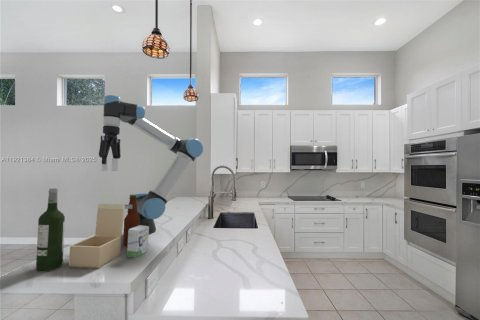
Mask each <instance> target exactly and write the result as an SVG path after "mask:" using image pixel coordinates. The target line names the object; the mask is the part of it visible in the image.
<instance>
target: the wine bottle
mask: <svg viewBox="0 0 480 320" xmlns="http://www.w3.org/2000/svg"><path fill="white" fill-rule="evenodd" d="M58 192H59V190H58V188H49V189H48V199H47V208H46V210H45V211H44V212H43V213H41V215H40V216H39V217H38V220H37V223H38V224H37V225H38V226H37V241H36V258H35V259H36V260H35V270H37V271H36V272H39V271H46V272H51V271H55V270H56V269H60V268H61V267H62V266H63V263H64V245H65V244H64V242H65V220H66V219H65V214H64V213H63V212H61V211H60V210H59V209H58Z"/></svg>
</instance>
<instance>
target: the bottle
mask: <svg viewBox="0 0 480 320" xmlns="http://www.w3.org/2000/svg"><path fill="white" fill-rule="evenodd" d="M136 196H137V195H135V194H129V198H128V199H129V202H128V205H133V207H132V209H127V214H126V216H124V218H123V233H122V240H123V241H122V245H123V247H124V248H127V247H128V230H129V229H131V228H134V227H136V226H139V225H140V217H139V216H138V214H137V203H136V199H137V198H136Z"/></svg>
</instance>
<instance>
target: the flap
mask: <svg viewBox="0 0 480 320" xmlns="http://www.w3.org/2000/svg"><path fill="white" fill-rule="evenodd" d="M132 207H133V205H129V204H123V203H122V204H120V203H119V204H117V203H98V204H97V213H96V222H95V223H96V225H95V231H94V232H95V233H94V236H118V237H121V238H122V237H123V230H124V218H125V216H124V215H125V210H128V209H132Z"/></svg>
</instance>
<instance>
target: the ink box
mask: <svg viewBox="0 0 480 320" xmlns="http://www.w3.org/2000/svg"><path fill="white" fill-rule="evenodd" d="M149 235H150V234H149V226H143V225H139V226H136V227H134V228H131V229H129V230H128V247H126V249H127V250H126V257H127V258H136V259H137V258H138V257H140V256H141V255H143V254H145V253H146V252H148V251H149Z"/></svg>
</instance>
